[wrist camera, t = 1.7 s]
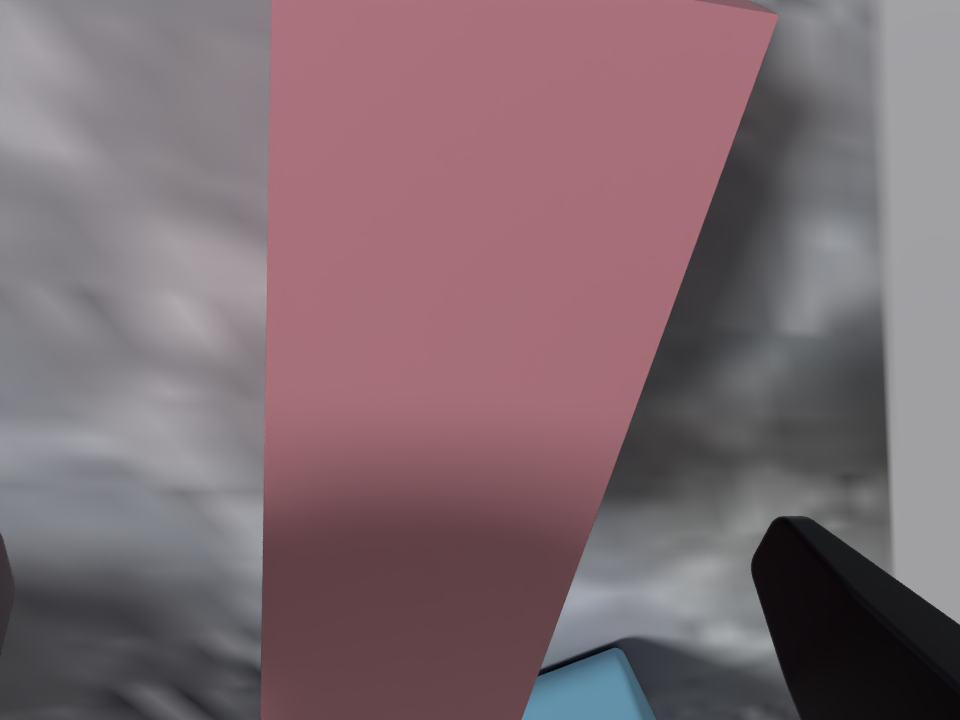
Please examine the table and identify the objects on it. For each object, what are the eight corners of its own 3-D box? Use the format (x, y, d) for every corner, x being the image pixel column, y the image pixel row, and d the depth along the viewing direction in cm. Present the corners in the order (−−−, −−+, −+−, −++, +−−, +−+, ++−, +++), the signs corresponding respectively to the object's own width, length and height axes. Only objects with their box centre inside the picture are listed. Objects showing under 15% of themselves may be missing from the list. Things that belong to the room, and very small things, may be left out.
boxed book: (441, 450, 19) (503, 768, 13) (279, 448, 18) (258, 790, 12) (544, -91, 13) (778, 14, 6) (296, -138, 12) (271, -70, 5)
